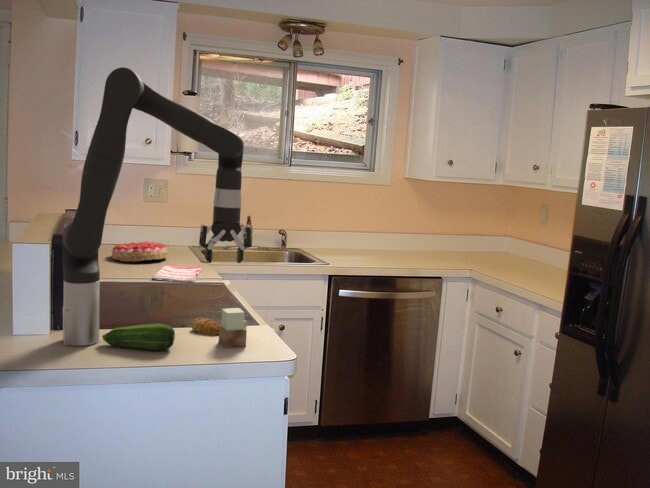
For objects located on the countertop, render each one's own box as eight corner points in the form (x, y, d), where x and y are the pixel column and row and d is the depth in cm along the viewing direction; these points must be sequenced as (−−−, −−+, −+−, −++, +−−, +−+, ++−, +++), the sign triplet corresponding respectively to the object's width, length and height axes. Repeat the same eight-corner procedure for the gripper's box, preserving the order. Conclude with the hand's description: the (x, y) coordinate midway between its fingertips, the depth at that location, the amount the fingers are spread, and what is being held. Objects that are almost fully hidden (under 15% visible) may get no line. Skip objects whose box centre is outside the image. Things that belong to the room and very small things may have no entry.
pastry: (227, 332, 199) (227, 320, 199) (212, 337, 193) (213, 325, 193) (203, 326, 204) (203, 314, 203) (188, 331, 198) (188, 319, 198)
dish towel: (203, 272, 287) (203, 264, 287) (193, 283, 264) (194, 275, 263) (163, 270, 287) (163, 262, 286) (151, 281, 263) (151, 273, 263)
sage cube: (226, 330, 184) (227, 313, 183) (221, 325, 188) (222, 308, 187) (243, 329, 186) (244, 312, 185) (238, 324, 190) (239, 307, 189)
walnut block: (225, 349, 183) (226, 331, 183) (218, 342, 189) (219, 325, 188) (245, 347, 186) (246, 329, 185) (238, 341, 191) (239, 324, 191)
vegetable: (172, 322, 176) (99, 317, 178) (168, 349, 174) (94, 343, 175) (179, 327, 183) (110, 322, 185) (175, 353, 181) (105, 348, 182)
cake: (169, 262, 298) (169, 244, 297) (111, 264, 291) (110, 246, 290) (166, 256, 322) (166, 239, 321) (112, 258, 315) (112, 241, 314)
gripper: (205, 205, 177) (202, 265, 180) (256, 207, 183) (252, 264, 186) (198, 202, 184) (195, 260, 186) (247, 204, 190) (244, 260, 192)
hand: (224, 262), depth 186 cm, fingers open, 8 cm apart
